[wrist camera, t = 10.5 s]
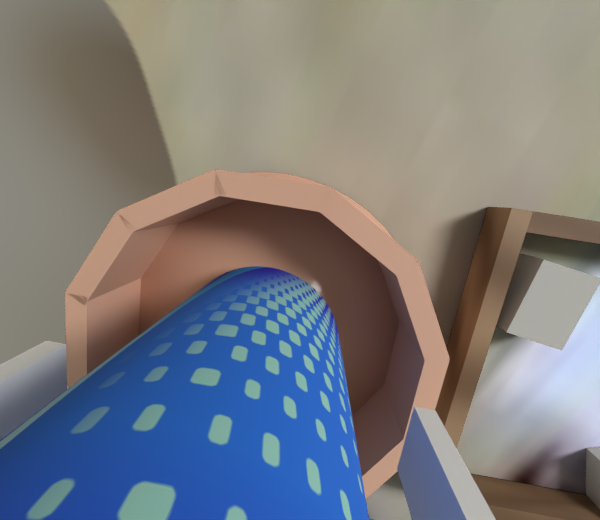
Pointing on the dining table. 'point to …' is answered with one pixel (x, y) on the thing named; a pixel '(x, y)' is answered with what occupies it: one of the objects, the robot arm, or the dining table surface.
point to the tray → (475, 343)
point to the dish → (281, 255)
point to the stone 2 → (593, 474)
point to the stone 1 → (545, 301)
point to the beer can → (201, 418)
